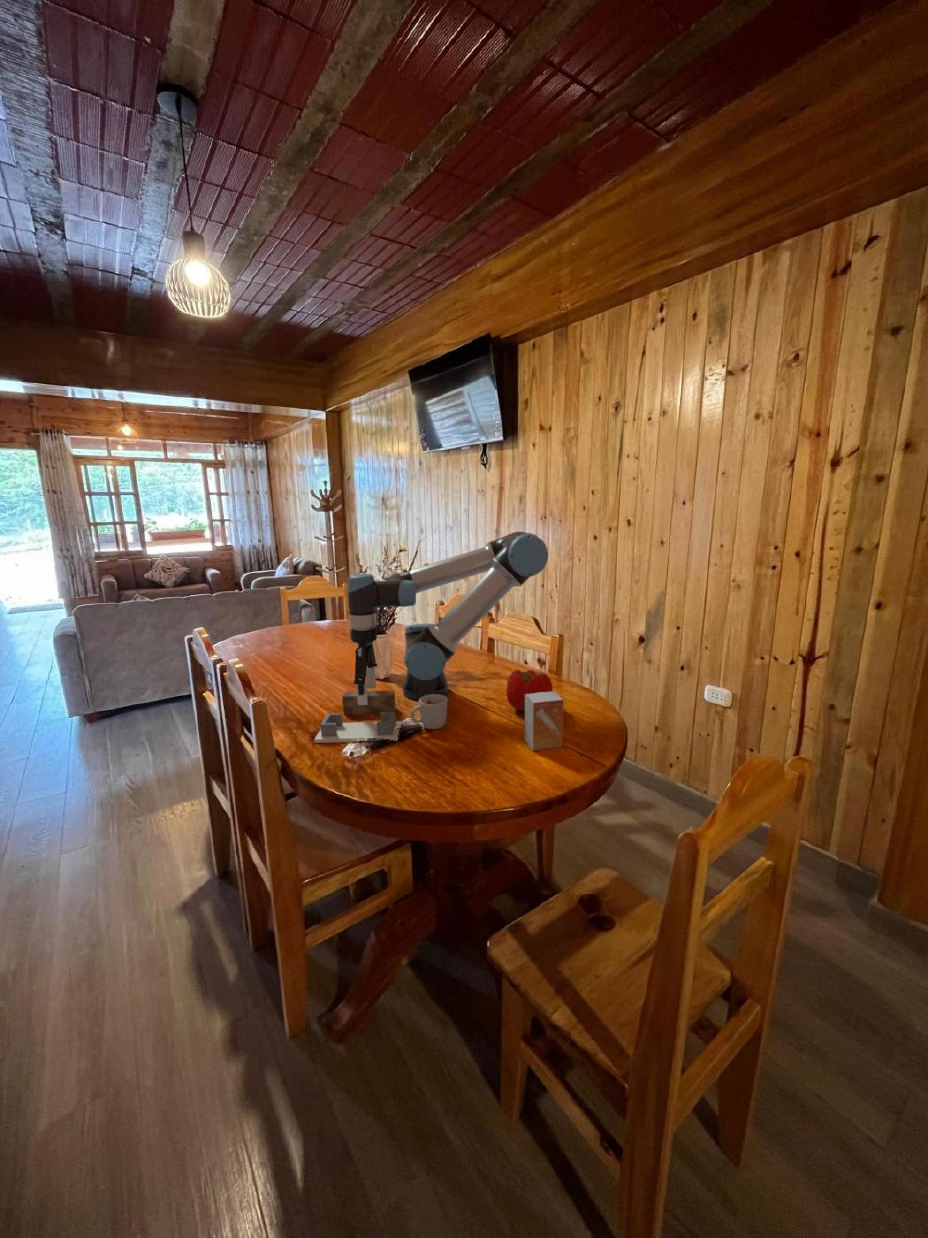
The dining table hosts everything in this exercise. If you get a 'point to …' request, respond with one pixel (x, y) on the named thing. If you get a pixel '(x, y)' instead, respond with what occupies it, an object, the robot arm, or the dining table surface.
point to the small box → (543, 720)
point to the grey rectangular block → (369, 703)
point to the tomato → (525, 686)
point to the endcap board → (357, 729)
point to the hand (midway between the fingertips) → (367, 695)
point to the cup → (431, 711)
